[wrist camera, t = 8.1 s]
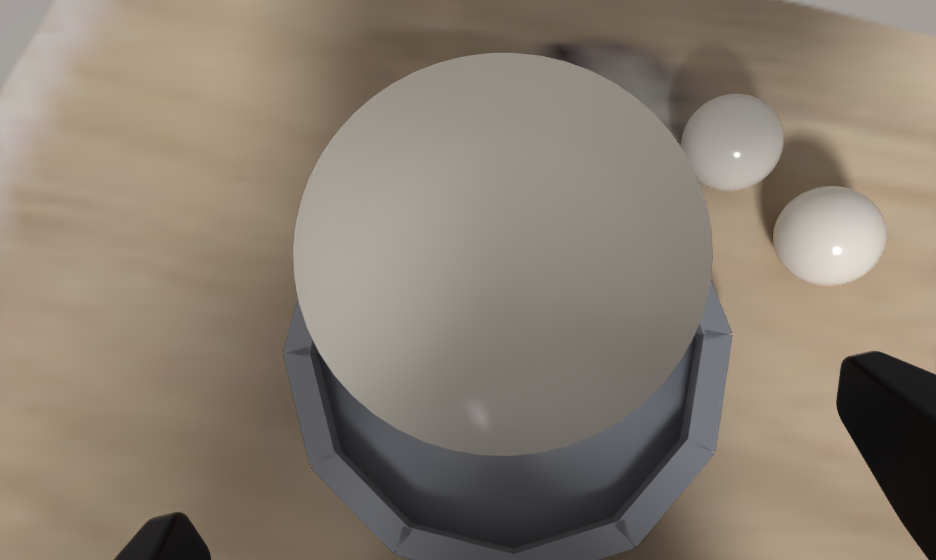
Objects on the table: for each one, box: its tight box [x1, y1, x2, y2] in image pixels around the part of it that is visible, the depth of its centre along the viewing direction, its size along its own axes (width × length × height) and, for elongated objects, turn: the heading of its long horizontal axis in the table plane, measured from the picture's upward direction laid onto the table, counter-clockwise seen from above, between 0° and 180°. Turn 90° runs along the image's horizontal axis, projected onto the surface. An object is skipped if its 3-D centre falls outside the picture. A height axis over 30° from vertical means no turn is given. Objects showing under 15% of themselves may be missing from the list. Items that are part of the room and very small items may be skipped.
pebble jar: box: [293, 53, 713, 456], centre depth 15 cm, size 6×6×12 cm
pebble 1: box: [681, 94, 784, 191], centre depth 21 cm, size 3×3×3 cm
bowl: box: [283, 282, 733, 560], centre depth 20 cm, size 13×13×2 cm
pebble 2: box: [773, 186, 887, 286], centre depth 20 cm, size 3×3×3 cm
